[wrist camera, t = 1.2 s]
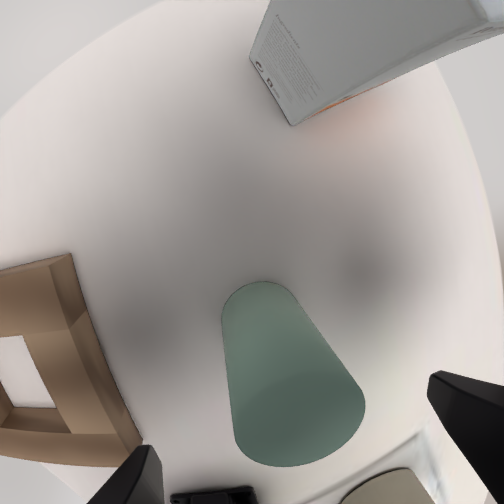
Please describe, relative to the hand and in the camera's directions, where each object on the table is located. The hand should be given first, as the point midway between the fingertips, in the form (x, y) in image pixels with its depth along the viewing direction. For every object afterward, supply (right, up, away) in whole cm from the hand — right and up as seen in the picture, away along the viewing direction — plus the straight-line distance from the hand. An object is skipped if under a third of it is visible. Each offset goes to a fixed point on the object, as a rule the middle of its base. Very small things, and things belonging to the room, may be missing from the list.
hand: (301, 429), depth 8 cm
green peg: (-1, +2, +8) cm, 8 cm away
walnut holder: (-16, -2, +7) cm, 17 cm away
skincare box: (+2, +14, +6) cm, 16 cm away
